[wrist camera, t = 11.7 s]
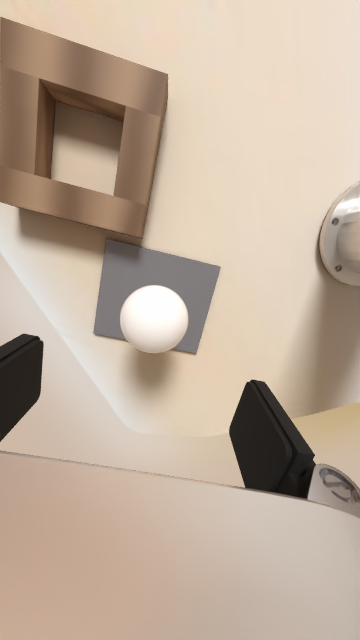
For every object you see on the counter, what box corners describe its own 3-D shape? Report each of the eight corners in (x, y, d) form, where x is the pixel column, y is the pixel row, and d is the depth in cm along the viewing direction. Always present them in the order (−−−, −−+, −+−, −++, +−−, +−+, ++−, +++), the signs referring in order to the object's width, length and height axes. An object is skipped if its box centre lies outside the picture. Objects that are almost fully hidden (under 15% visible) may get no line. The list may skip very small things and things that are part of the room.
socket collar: (167, 96, 23) (167, 74, 20) (142, 238, 27) (139, 236, 24) (23, 48, 21) (0, 16, 18) (18, 207, 25) (-2, 201, 22)
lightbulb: (173, 331, 30) (176, 374, 19) (127, 316, 29) (103, 353, 18) (190, 285, 28) (202, 306, 18) (141, 269, 27) (124, 280, 17)
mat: (219, 266, 28) (220, 266, 28) (195, 352, 31) (196, 353, 31) (107, 238, 26) (106, 238, 26) (94, 332, 30) (93, 333, 29)
